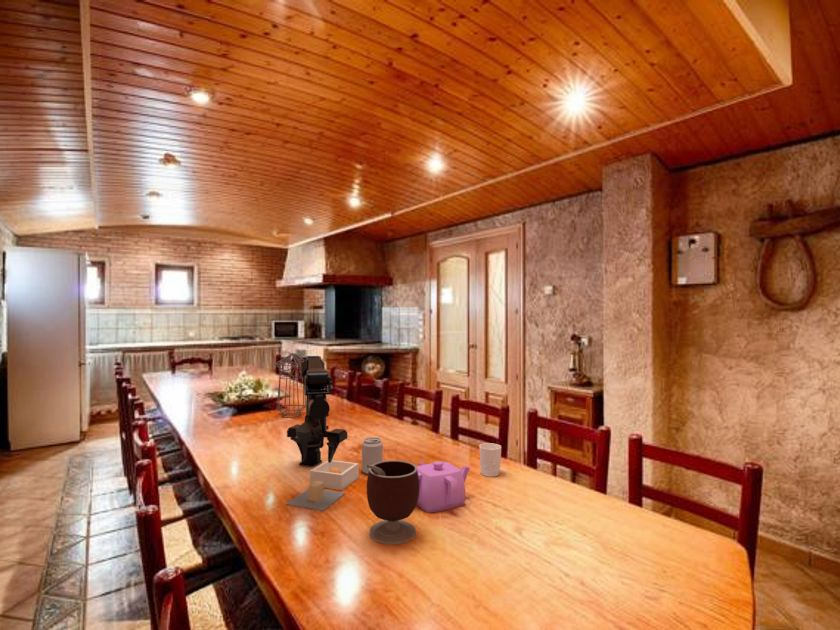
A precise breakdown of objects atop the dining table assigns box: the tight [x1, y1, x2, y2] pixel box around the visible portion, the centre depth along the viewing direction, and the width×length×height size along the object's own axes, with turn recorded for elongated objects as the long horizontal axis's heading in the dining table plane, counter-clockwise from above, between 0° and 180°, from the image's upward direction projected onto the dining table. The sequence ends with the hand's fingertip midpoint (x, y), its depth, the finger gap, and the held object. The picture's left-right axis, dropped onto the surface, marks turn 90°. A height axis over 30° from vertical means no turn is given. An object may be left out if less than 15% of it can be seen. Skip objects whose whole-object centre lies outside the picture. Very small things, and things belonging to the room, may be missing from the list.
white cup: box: [478, 442, 502, 478], centre depth 163 cm, size 8×8×10 cm
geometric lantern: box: [274, 353, 306, 419], centre depth 250 cm, size 16×16×35 cm
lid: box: [285, 481, 346, 512], centre depth 139 cm, size 13×13×6 cm
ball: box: [329, 467, 341, 474], centre depth 154 cm, size 4×4×4 cm
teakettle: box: [416, 460, 471, 513], centre depth 138 cm, size 17×17×12 cm
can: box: [361, 436, 384, 475], centre depth 164 cm, size 8×8×12 cm
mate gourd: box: [366, 459, 419, 546], centre depth 118 cm, size 16×14×20 cm
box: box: [309, 459, 360, 491], centre depth 154 cm, size 12×12×5 cm
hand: (316, 460), depth 140 cm, fingers open, 9 cm apart
